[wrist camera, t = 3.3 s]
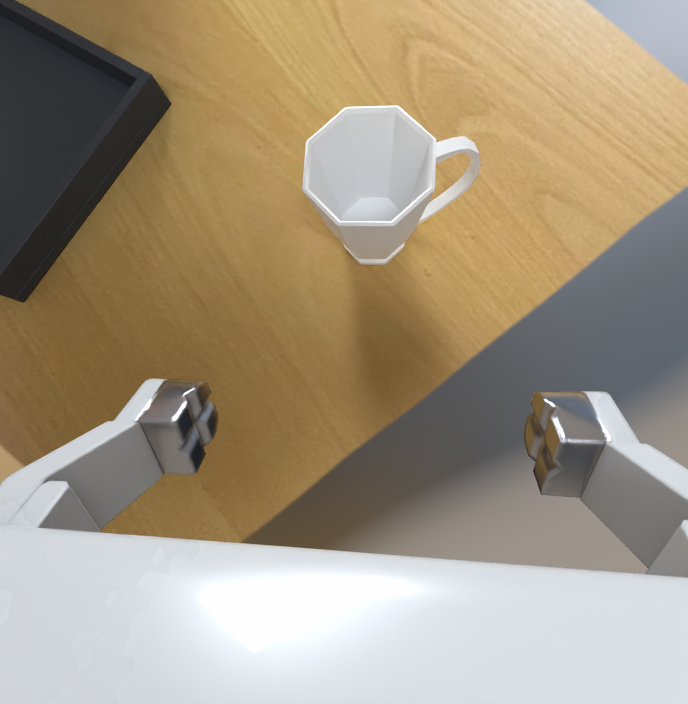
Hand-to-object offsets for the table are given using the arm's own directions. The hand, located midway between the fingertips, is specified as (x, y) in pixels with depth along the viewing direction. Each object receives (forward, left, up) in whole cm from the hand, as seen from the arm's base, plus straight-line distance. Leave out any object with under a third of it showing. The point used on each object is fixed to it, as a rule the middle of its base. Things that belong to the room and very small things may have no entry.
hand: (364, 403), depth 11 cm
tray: (+22, +33, -16) cm, 43 cm away
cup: (+13, -1, -16) cm, 21 cm away
